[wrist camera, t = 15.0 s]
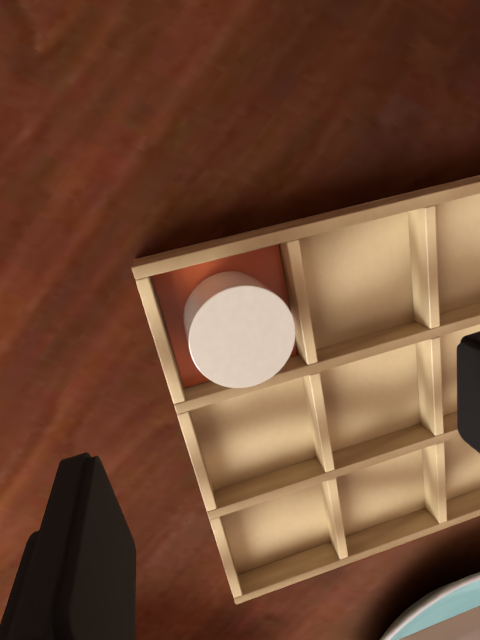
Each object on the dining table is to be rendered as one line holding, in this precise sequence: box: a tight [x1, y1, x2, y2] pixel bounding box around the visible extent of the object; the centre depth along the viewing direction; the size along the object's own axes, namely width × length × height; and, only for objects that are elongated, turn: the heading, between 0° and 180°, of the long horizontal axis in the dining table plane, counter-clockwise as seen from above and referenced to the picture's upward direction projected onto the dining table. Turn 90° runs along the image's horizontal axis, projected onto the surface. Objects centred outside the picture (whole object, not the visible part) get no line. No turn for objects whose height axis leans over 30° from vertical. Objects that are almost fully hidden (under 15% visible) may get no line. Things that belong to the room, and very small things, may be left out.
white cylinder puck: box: [183, 271, 296, 388], centre depth 19 cm, size 5×5×3 cm
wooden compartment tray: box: [132, 175, 480, 604], centre depth 24 cm, size 22×22×2 cm
